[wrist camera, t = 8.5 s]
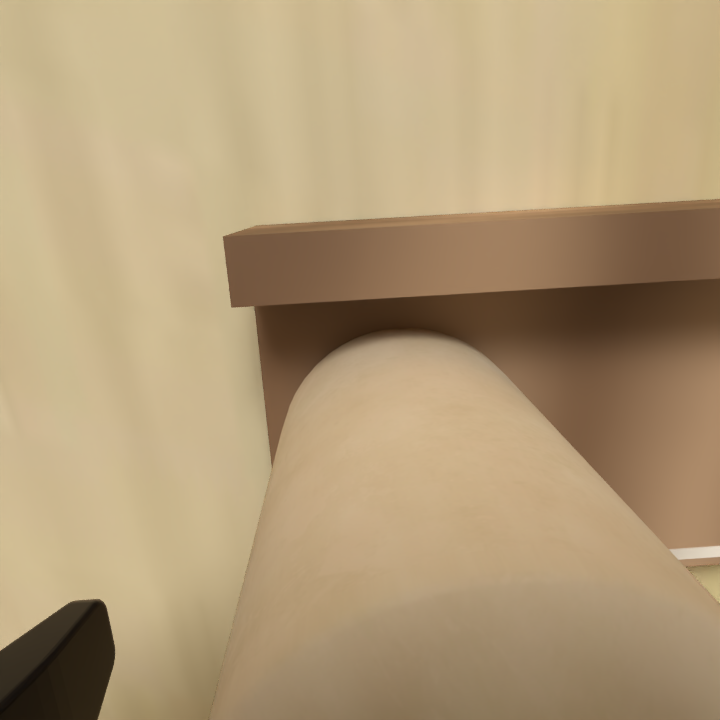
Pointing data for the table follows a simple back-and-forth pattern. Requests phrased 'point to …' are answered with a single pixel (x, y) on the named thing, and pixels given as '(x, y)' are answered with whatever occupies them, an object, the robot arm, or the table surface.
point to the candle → (454, 561)
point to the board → (528, 328)
